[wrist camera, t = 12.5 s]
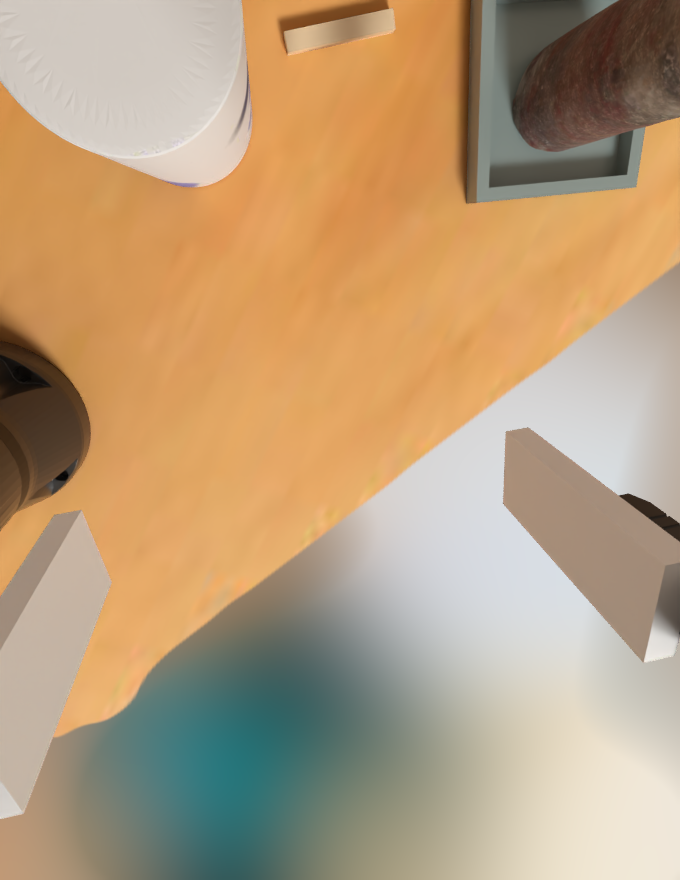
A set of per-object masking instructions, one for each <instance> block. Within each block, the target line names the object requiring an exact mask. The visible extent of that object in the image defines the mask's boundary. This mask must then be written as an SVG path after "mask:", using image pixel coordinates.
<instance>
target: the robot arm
mask: <svg viewBox="0 0 680 880" xmlns="http://www.w3.org/2000/svg"><path fill="white" fill-rule="evenodd" d="M90 435H91V432H90V422H89V417H88V414H87V411H86V408H85V405H84V403H83V401H82V399H81V397H80V396H79V394H78V392H77V391H76V389H75V388H74V387H73V385H72V384H71V383H70V382H69V380H68V379H67V378H66V377H65V376H64V375H63V374H62V373H61V372H60V371H59V370H58V369H56V368H55V367H54V366H53V365H51V364H50V363H49V362H47V361H46V360H44V359H43V358H41V357H40V356H38V355H36V354H34V353H32V352H31V351H28V350H26V349H24V348H21V347H19V346H16V345H13V344H10V343H6V342H3V341H0V531H1V530H2V528H3V527H4V526H5V525H6V524H7V522H8V521H9V520H10V519H11V517H12V516H13V515H14V514H15V513H16V512H18V511H20V510H23V509H25V508H27V507H29V506H31V505H34V504H36V503H38V502H40V501H42V500H44V499H46V498H48V497H50V496H52V495H53V494H55V493H56V492H58V491H59V490H60V489H61V488H63V487H64V486H65V485H66V484H67V483H68V482H69V481H70V480H71V478H72V477H73V476H74V474H75V473H76V472H77V470H78V469H79V468H80V466H81V465H82V463H83V461H84V460H85V457H86V455H87V452H88V449H89V445H90ZM505 441H506V442H505V467H504V468H505V469H504V496H503V497H504V498H503V504H504V505H505V506H506V507H507V509H508V510H509V511H510V512H511V513H512V514H513V515H514V517H516V519H517V520H518V521H519V522H520V523H521V524H522V526H523V527H524V528H525V529H526V530H527V531H528V532H529V533H530V535H531V536H532V537H533V538H534V539H535V540H536V541H537V543H538V544H539V545H540V546H541V547H542V548H543V549H544V551H545V552H546V553H547V554H548V555H549V556H550V557H551V559H552V560H553V561H554V562H555V563H556V564H557V565H558V566H559V567H560V568H561V570H562V571H563V572H564V573H565V574H566V575H567V577H568V578H569V579H570V580H571V581H572V582H573V583H574V585H575V586H576V587H577V588H578V589H579V590H580V591H581V592H582V593H583V595H584V596H585V597H586V598H587V599H588V600H589V602H590V603H591V604H592V605H593V606H594V607H595V608H596V610H598V612H599V613H600V614H601V615H602V616H603V617H604V619H605V620H606V621H607V622H608V623H609V624H610V625H611V627H612V628H613V629H614V630H615V631H616V632H617V633H618V634H619V636H620V637H621V638H622V639H623V640H624V641H625V642H626V644H627V645H628V646H629V647H630V648H631V649H632V650H633V651H634V653H635V654H636V655H637V656H638V657H639V658H640V659H641V661H642V662H643V663H646V662H650V661H654V660H658V659H662V658H666V657H670V656H674V655H675V654H676V650H677V646H678V643H679V639H680V524H679V523H678V522H677V521H675V520H674V519H673V518H671V517H670V516H668V517H667V516H666V513H664V512H663V511H661V510H660V509H659V508H657V507H656V506H654V505H653V504H652V503H650V502H648V501H646V500H643V499H641V498H638V497H636V496H633V495H631V494H625V495H620V496H618V495H617V494H616V493H614V492H613V491H612V490H610V489H609V488H608V487H606V486H605V485H604V484H602V483H601V482H600V481H598V480H597V479H596V478H594V477H593V476H591V474H589V473H588V472H587V471H585V470H584V469H582V468H581V467H580V466H579V465H577V464H576V463H575V462H573V461H572V460H571V459H569V458H568V457H567V456H565V455H564V454H562V453H561V452H560V451H559V450H557V449H556V448H555V447H553V446H552V445H551V444H549V443H548V442H547V441H546V440H544V439H543V438H542V437H540V436H539V435H538V434H536V433H535V432H534V431H532V430H531V429H530V428H523V429H517V430H512V431H506V440H505ZM111 583H112V582H111V579H110V577H109V575H108V572H107V570H106V567H105V565H104V563H103V560H102V558H101V555H100V553H99V551H98V548H97V546H96V543H95V541H94V539H93V536H92V534H91V532H90V529H89V527H88V524H87V522H86V520H85V517H84V515H83V512H82V510H79V511H73V512H68V513H62V514H57V515H54V516H53V518H52V519H51V521H50V522H49V524H48V525H47V527H46V528H45V530H44V531H43V533H42V534H41V536H40V537H39V539H38V540H37V542H36V543H35V545H34V546H33V548H32V550H31V551H30V553H29V554H28V556H27V557H26V559H25V560H24V562H23V563H22V565H21V566H20V568H19V569H18V571H17V572H16V574H15V575H14V577H13V578H12V580H11V581H10V583H9V584H8V586H7V587H6V589H5V590H4V592H3V593H2V595H1V597H0V819H3V818H7V817H11V816H15V815H19V814H23V813H24V811H25V809H26V806H27V804H28V801H29V798H30V796H31V793H32V790H33V788H34V785H35V783H36V780H37V777H38V775H39V772H40V769H41V767H42V764H43V762H44V759H45V756H46V754H47V751H48V748H49V746H50V743H51V740H52V738H53V735H54V733H55V730H56V727H57V725H58V722H59V720H60V717H61V714H62V712H63V709H64V706H65V704H66V701H67V699H68V696H69V693H70V691H71V688H72V685H73V683H74V680H75V678H76V675H77V672H78V670H79V667H80V664H81V662H82V659H83V657H84V654H85V651H86V649H87V646H88V643H89V641H90V638H91V635H92V633H93V630H94V628H95V625H96V622H97V620H98V617H99V614H100V612H101V609H102V607H103V604H104V601H105V599H106V596H107V593H108V591H109V588H110V586H111Z"/></svg>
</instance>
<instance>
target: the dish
mask: <svg viewBox="0 0 680 880" xmlns="http://www.w3.org/2000/svg"><path fill="white" fill-rule="evenodd" d="M617 1H619V0H471V10H470V57H469V103H468V150H467V196H466V204H467V203H479V202H489V201H499V200H510V199H520V198H530V197H541V196H551V195H561V194H572V193H582V192H592V191H603V190H613V189H623V188H633V187H636V185H637V178H638V172H639V165H640V159H641V152H642V146H643V139H644V133H645V127H643V128H639V129H635V130H632V131H628V132H625V133H621V134H618V135H615V136H612V137H608V138H605V139H601V140H598V141H595V142H592V143H588V144H585V145H582V146H578V147H574V148H571V149H568V150H564V151H560V152H547V151H543V150H538V149H535V148H533V147H531V146H529V145H528V144H527V143H526V142H525V140H524V139H523V138H522V136H521V134H520V133H519V132H518V130H517V128H516V125H515V123H514V119H513V112H512V107H513V100H514V98H515V95H516V92H517V90H518V86H519V84H520V82H521V78H522V76H523V74H524V72H525V70H526V68H527V66H528V65H529V64H530V63H531V61H532V60H533V59H534V58H535V57H536V56H537V55H538V54H539V53H540V52H541V51H542V50H543V49H544V48H545V47H547V46H548V45H549V44H551V43H552V42H554V41H555V40H557V39H558V38H560V37H561V36H563V35H564V34H566V33H567V32H569V31H570V30H572V29H573V28H575V27H576V26H578V25H579V24H581V23H583V22H584V21H586V20H588V19H589V18H591V17H592V16H594V15H595V14H597V13H599V12H600V11H602V10H604V9H605V8H607V7H608V6H610V5H611V4H613V3H615V2H617Z"/></svg>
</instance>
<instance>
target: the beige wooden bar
mask: <svg viewBox="0 0 680 880" xmlns="http://www.w3.org/2000/svg"><path fill="white" fill-rule="evenodd" d="M395 29H396V28H395V20H394V12H393V8H391V9H386V10H381V11H377V12H372V13H367V14H363V15H358V16H353V17H349V18H344V19H339V20H335V21H330V22H325V23H321V24H316V25H311V26H307V27H302V28H297V29H293V30H288V31H284V34H283V36H284V41H285V46H286V51H287V56H289V55H293V54H298V53H302V52H307V51H312V50H316V49H321V48H326V47H330V46H335V45H339V44H344V43H349V42H353V41H358V40H363V39H367V38H372V37H376V36H381V35H386V34H390V33H393V32H394V31H395Z"/></svg>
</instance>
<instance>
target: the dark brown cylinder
mask: <svg viewBox="0 0 680 880" xmlns="http://www.w3.org/2000/svg"><path fill="white" fill-rule="evenodd" d="M512 112H513V119H514V123H515V125H516V128H517V130H518V132H519V133H520V134H521V136H522V138H523V139H524V140H525V142H526V143H527V144H528V145H529V146H531V147H533V148H535V149H538V150H543V151H547V152H560V151H564V150H568V149H571V148H574V147H578V146H582V145H585V144H588V143H592V142H595V141H598V140H601V139H605V138H608V137H612V136H615V135H618V134H621V133H625V132H628V131H632V130H635V129H639V128H643V127H646V126H650V125H653V124H656V123H659V122H663V121H666V120H670V119H674V118H678V117H680V0H619V1H617V2H615V3H613V4H611V5H610V6H608V7H607V8H605V9H604V10H602V11H600V12H599V13H597V14H595V15H594V16H592V17H591V18H589V19H588V20H586V21H584V22H583V23H581V24H579V25H578V26H576V27H575V28H573V29H572V30H570V31H569V32H567V33H566V34H564V35H563V36H561V37H560V38H558V39H557V40H555V41H554V42H552V43H551V44H549V45H548V46H547V47H545V48H544V49H543V50H542V51H541V52H540V53H539V54H538V55H537V56H536V57H535V58H534V59H533V60H532V61H531V63H530V64H529V65H528V66H527V68H526V70H525V72H524V74H523V76H522V78H521V82H520V84H519V86H518V90H517V92H516V95H515V98H514V100H513V107H512Z"/></svg>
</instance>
